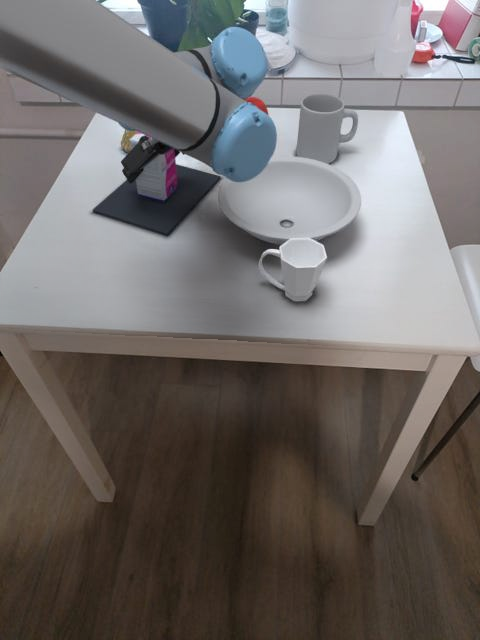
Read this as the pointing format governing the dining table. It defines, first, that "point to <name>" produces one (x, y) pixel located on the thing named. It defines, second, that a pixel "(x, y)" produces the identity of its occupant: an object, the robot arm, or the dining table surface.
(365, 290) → the dining table surface
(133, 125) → the robot arm
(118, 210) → the mat
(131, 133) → the seashell
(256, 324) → the dining table surface
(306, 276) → the cup
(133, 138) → the supplement box
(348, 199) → the white sink basin
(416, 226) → the dining table surface
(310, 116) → the mug
